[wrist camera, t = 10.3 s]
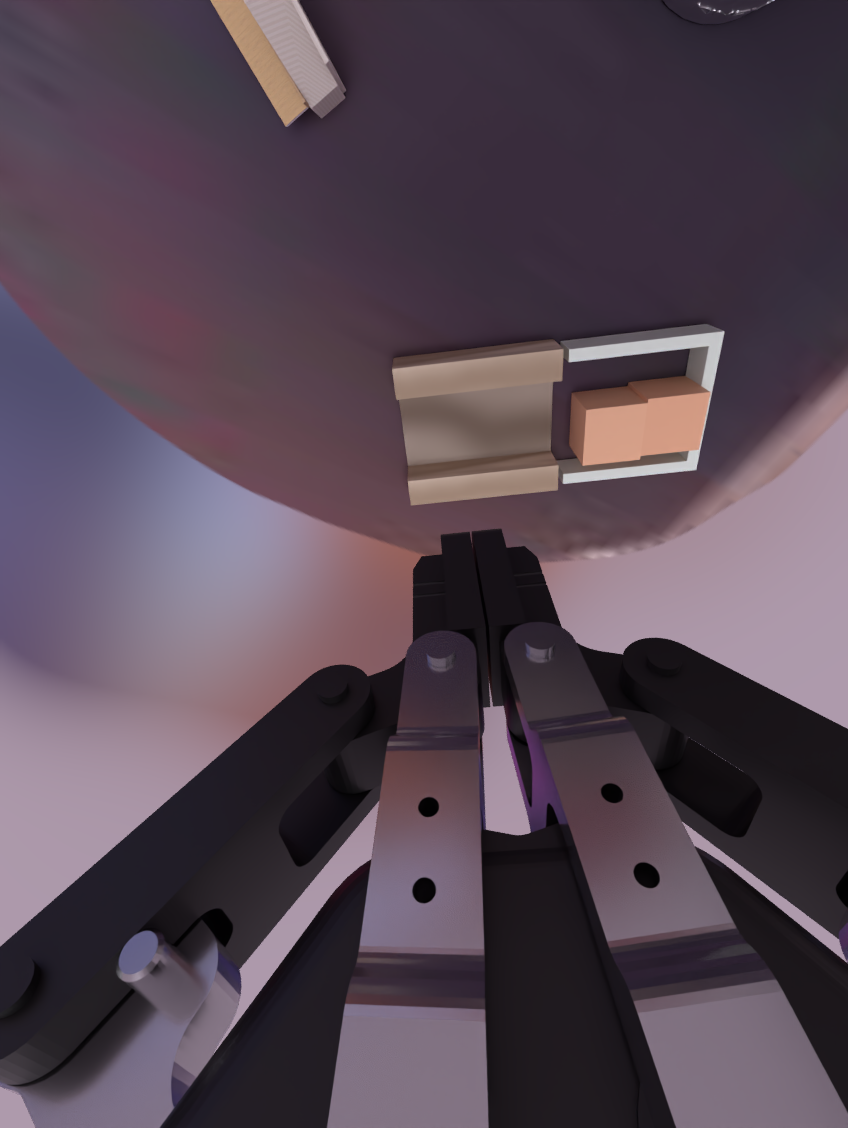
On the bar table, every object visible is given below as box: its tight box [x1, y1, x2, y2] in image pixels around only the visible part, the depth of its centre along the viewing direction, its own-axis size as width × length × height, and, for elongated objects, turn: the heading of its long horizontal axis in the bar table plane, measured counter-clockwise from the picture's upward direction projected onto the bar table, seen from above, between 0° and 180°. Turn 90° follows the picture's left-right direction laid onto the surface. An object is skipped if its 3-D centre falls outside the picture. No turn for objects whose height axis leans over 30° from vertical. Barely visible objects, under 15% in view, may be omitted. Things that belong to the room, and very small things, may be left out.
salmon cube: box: [628, 376, 711, 456], centre depth 37 cm, size 4×4×4 cm
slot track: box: [392, 339, 563, 505], centre depth 37 cm, size 10×11×3 cm
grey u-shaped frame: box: [556, 324, 724, 484], centre depth 37 cm, size 10×10×2 cm
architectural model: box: [211, 0, 346, 127], centre depth 24 cm, size 3×7×7 cm, turn 32°
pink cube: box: [569, 386, 648, 466], centre depth 37 cm, size 4×4×4 cm
